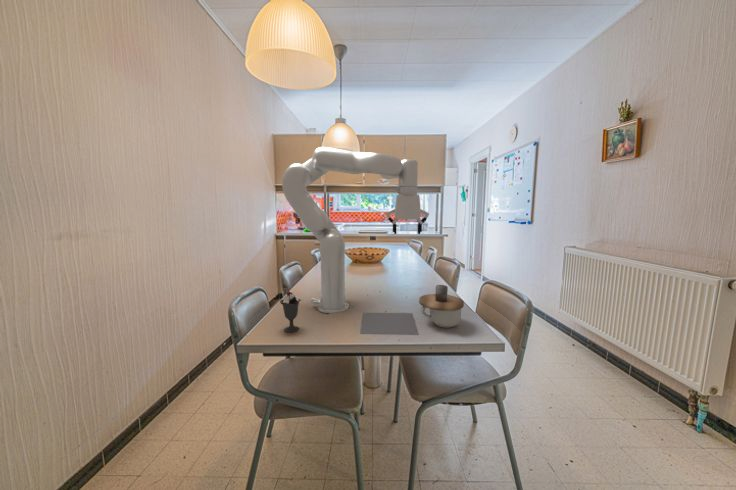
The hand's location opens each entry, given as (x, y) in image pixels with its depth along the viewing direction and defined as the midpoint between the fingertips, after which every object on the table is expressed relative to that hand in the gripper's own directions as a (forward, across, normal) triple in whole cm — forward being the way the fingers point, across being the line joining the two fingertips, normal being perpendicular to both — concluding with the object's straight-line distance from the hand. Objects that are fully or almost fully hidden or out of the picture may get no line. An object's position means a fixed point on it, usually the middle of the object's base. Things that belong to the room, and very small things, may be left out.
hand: (407, 233), depth 118 cm
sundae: (+31, -41, -26) cm, 57 cm away
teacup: (+31, +10, -20) cm, 38 cm away
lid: (+22, +10, -20) cm, 32 cm away
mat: (+30, -8, -20) cm, 37 cm away
